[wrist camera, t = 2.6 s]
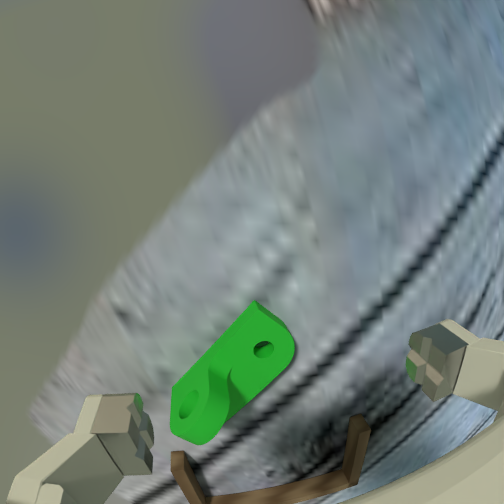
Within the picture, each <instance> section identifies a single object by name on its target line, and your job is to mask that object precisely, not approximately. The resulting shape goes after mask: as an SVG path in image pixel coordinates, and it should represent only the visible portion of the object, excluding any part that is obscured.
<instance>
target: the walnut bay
mask: <svg viewBox="0 0 504 504" xmlns="http://www.w3.org/2000/svg"><path fill="white" fill-rule="evenodd" d="M370 432H371V429H370V427H369V425H368V424H367V422H366V421H365V419H364V418H363V416H362V415H361V414H358V415H355V416H352V417H350V420H349V427H348V434H347V441H346V448H345V454H344V460H343V466H342V469H340V470H337V471H334V472H330V473H327V474H324V475H320V476H317V477H313V478H309V479H306V480H302V481H298V482H294V483H289V484H285V485H280V486H276V487H271V488H266V489H260V490H255V491H249V492H243V493H236V494H229V495H221V496H212V497H205V495H204V493H203V491H202V489H201V487H200V485H199V483H198V481H197V479H196V477H195V475H194V473H193V470H192V468H191V466H190V464H189V462H188V460H187V457H186V455H185V453H184V451H173V452H171V472H172V474H173V476H174V478H175V479H176V481H177V483H178V485H179V486H180V488H181V490H182V491H183V493H184V495H185V497H186V498H187V500H188V502H189V503H190V504H294V503H298V502H302V501H306V500H309V499H313V498H317V497H320V496H324V495H327V494H330V493H334V492H337V491H340V490H343V489H346V488H349V487H352V486H355V485H357V484H358V481H359V477H360V473H361V470H362V466H363V462H364V458H365V454H366V450H367V445H368V441H369V437H370Z"/></svg>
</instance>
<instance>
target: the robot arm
mask: <svg viewBox="0 0 504 504" xmlns="http://www.w3.org/2000/svg"><path fill="white" fill-rule="evenodd" d="M409 346H410V348H411V350H410V352H409V354H408V355H407V358H406V369H407V373H408V375H409V377H410V378H411V379H412V380H413V381H414V382H415V383H418V384H421V385H422V391H423V392H424V393H425V394H426V395H427V396H428V397H429V398H430V399H431V400H432V401H433V402H434V401H437V400H439V399H441V398H443V397H445V396H447V395H449V394H451V393H453V394H455V395H458V396H460V397H463V398H465V399H468V400H470V401H473V402H475V403H478V404H481V405H483V406H486V407H489V408H491V409H494V410H497V411H498V413H497V415H496V417H495V419H494V422H493V423H492V424H491V425H490V426H488V427H487V428H485V429H484V430H483V431H481V432H480V433H478V434H477V435H475V436H474V437H472V438H471V439H469V440H468V441H466V442H465V443H463V444H462V445H460V446H458V447H457V448H455V449H454V450H452V451H450V452H449V453H447V454H445V455H443V456H442V457H440V458H438V459H436V460H435V461H433V462H431V463H429V464H427V465H425V466H424V467H422V468H420V469H418V470H416V471H414V472H412V473H410V474H408V475H406V476H404V477H402V478H399V479H397V480H395V481H393V482H391V483H389V484H386V485H384V486H382V487H379V488H377V489H375V490H372V491H370V492H367V493H365V494H362V495H359V496H357V497H354V498H351V499H349V500H346V501H343V502H340V503H337V504H504V341H498V340H493V339H487V338H481V339H479V338H478V337H476V336H475V335H473V334H472V333H470V332H469V331H467V330H466V329H464V328H463V327H462V326H460V325H459V324H457V323H456V322H454V321H453V320H450V319H446V320H444V321H441V322H439V323H437V324H435V325H433V326H430V327H427V328H425V329H422V330H419V331H417V332H414V333H412V335H411V336H410V339H409ZM153 445H154V432H153V426H152V423H151V420H150V417H149V415H148V414H147V413H145V412H144V411H143V401H142V399H141V397H140V395H139V394H138V393H125V394H105V395H89V396H87V397H86V399H85V401H84V404H83V407H82V410H81V413H80V415H79V418H78V421H77V424H76V427H75V430H74V433H73V434H68V435H66V436H65V437H64V438H63V439H61V440H60V441H59V442H58V443H56V444H55V445H54V446H53V447H51V448H50V449H49V450H48V451H46V452H45V453H44V454H43V455H41V456H40V457H39V458H38V459H36V460H35V461H34V462H33V463H31V464H30V465H29V466H28V467H27V468H25V469H24V470H23V471H21V472H20V473H19V474H17V475H16V476H15V479H14V481H13V484H12V487H11V489H10V492H9V495H8V498H7V501H6V504H104V503H105V501H106V500H107V499H108V497H109V496H110V495H111V493H112V492H113V491H114V490H115V488H116V487H117V486H118V484H119V483H120V482H121V480H122V479H123V478H124V476H127V475H150V474H152V467H153V455H152V454H151V452H150V448H151V447H152V446H153Z"/></svg>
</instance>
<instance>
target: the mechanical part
mask: <svg viewBox="0 0 504 504" xmlns="http://www.w3.org/2000/svg"><path fill="white" fill-rule="evenodd" d="M261 341H269V342H268V344H267V345H265V346H264V347H259V348H258V347H255V345H256V344H257V343H259V342H261ZM294 349H295V346H294V340H293V338H292V336H291V334H290V332H289V330H288V329H287V327H286V325H285V324H284V322H283V321H282V320H280V319H279V318H278V317H276V316H275V315H274V314H272V313H271V312H270V311H268V310H267V309H266V308H264V307H263V306H262V305H260V304H259V303H258V302H256V301H255V300H254V301H253V302H252V303H251V304H250V305H249V306H248V308H247V309H246V310H245V311H244V312H243V313H242V314H241V315H240V316H239V317H238V318H237V320H236V321H235V322H234V323H233V324H232V325H231V326H230V327H229V328H228V329H227V330H226V331H225V332H224V334H223V335H222V336H221V337H220V338H219V339H218V340H217V341H216V342H215V343H214V344H213V345H212V346H211V347H210V348H209V350H208V351H207V352H206V353H205V354H204V355H203V356H202V357H201V358H200V359H199V360H198V361H197V362H196V363H195V364H194V365H193V366H192V367H191V368H190V369H189V371H188V372H187V373H186V374H185V375H184V376H183V377H182V378H181V379H180V380H179V381H178V382H177V383H176V384H175V385H174V386H173V387H172V397H171V414H170V429H171V432H172V433H173V434H174V435H176V436H178V437H180V438H182V439H184V440H187V441H189V442H191V443H193V444H196V445H203V444H205V443H207V442H209V441H210V440H211V439H213V438H214V437H215V435H216V434H217V433H218V432H219V430H220V429H221V427H222V425H223V424H224V423H225V422H226V421H228V420H229V419H230V418H231V417H232V416H233V415H235V414H236V413H237V412H238V411H239V410H240V409H241V408H243V407H244V406H245V405H246V404H247V403H248V402H249V401H250V400H252V399H253V398H254V397H255V396H256V395H257V394H258V393H259V392H260V391H261V390H263V389H264V388H265V387H266V386H267V385H268V384H269V383H270V382H271V381H272V380H273V379H274V378H275V377H276V376H278V375H279V374H280V373H281V372H282V371H283V370H284V369H285V368H286V367H287V366H288V364H289V363H290V361H291V360H292V357H293V355H294Z"/></svg>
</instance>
